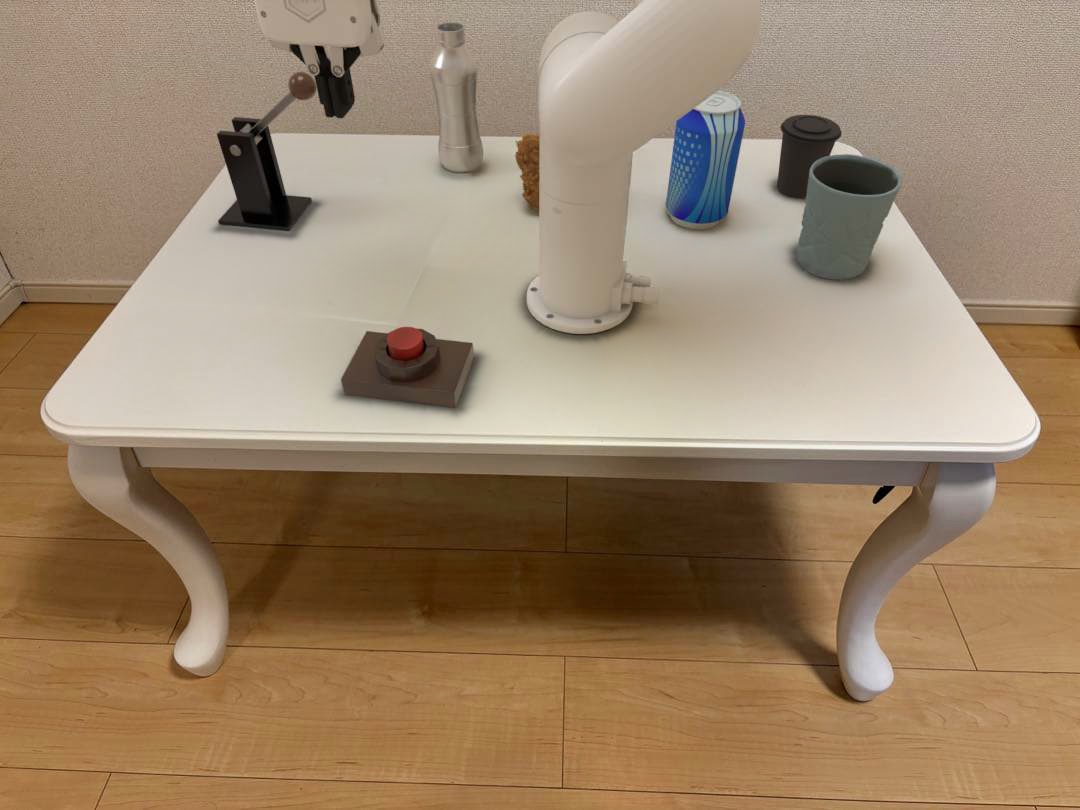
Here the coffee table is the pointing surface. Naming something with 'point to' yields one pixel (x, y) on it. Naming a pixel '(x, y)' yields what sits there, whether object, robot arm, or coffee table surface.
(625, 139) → the robot arm
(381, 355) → the button block
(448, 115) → the silver metal bottle
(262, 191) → the bracket
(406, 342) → the button
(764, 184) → the coffee table surface
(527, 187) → the fried chicken
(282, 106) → the lever
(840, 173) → the green embossed tumbler
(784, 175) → the coffee cup
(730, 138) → the beer can
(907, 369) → the coffee table surface
